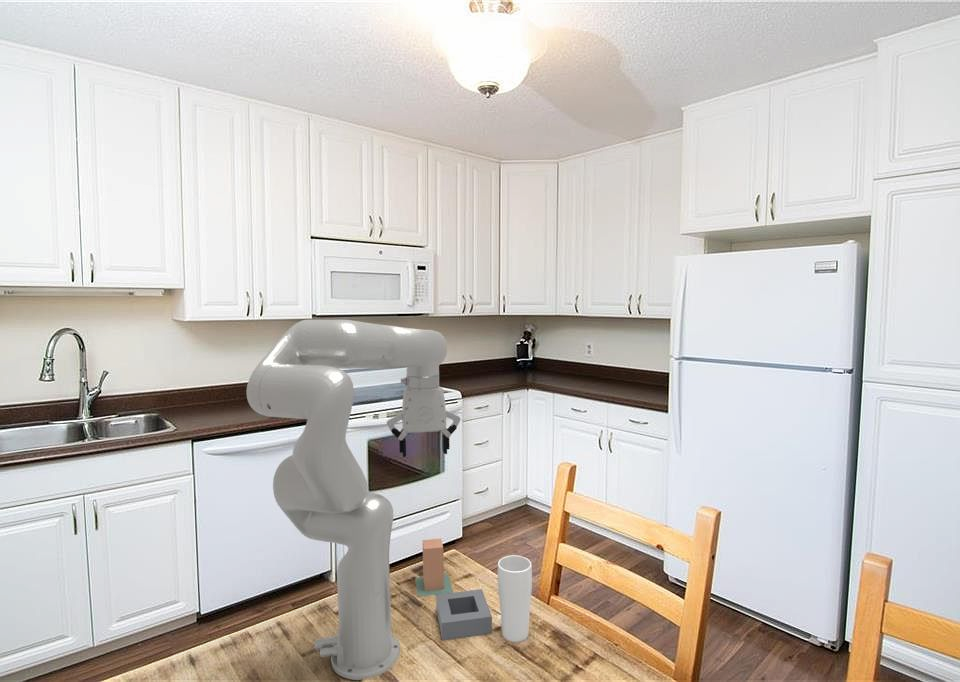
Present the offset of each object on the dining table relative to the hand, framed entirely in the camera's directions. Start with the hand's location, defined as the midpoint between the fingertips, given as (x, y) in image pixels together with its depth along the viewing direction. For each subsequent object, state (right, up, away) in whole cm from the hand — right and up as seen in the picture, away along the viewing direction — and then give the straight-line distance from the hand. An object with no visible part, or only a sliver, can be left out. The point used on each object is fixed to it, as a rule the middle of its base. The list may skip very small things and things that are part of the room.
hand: (424, 453), depth 124 cm
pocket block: (+10, -32, -16) cm, 37 cm away
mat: (+2, -31, -2) cm, 31 cm away
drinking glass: (+20, -32, -20) cm, 43 cm away
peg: (+2, -30, -2) cm, 30 cm away
